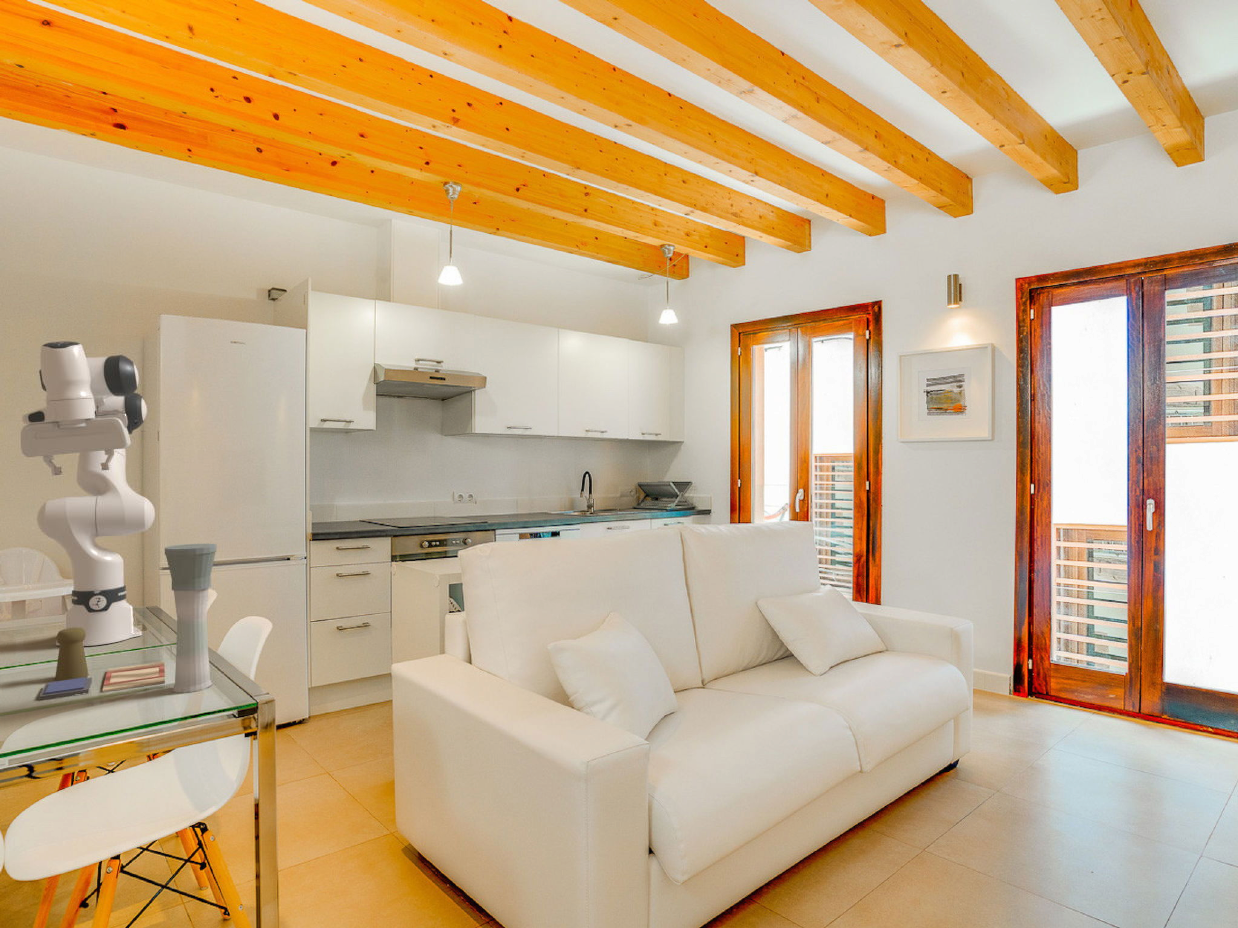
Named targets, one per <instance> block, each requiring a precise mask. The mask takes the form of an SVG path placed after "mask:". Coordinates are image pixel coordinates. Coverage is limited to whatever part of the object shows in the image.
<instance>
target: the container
mask: <svg viewBox="0 0 1238 928" xmlns="http://www.w3.org/2000/svg"><path fill="white" fill-rule="evenodd" d="M216 553H217V544H216V543H188V544H178V545H168V546H165V547H164V555H165V558H166V562H167V565H168V569H169V573H170V577H171V591H173V595H174V603H175V612H176V653H175V670H174V671H175V676H174V685H173V688H172V692H174V693H178V694H188V693H189V694H190V693H196V692H200V691H204V690H207V689H209V688H210V687H212V686H213V683H212V681H211V680H212V679H211V671H210V660H209V647H208V646H209V645H208V644H209V643H208V628H207V611H208V610H207V609H208V601H209V600H208V599H209V588H210V587H212V581H211V579H212V578H211V576H212V570H213V564H214V560H215V558H216V557H215V556H216Z"/></svg>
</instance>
